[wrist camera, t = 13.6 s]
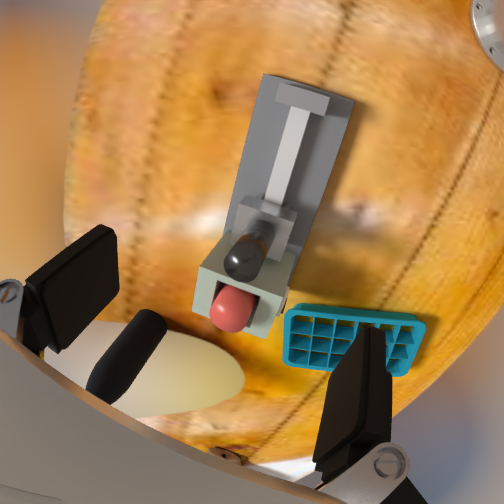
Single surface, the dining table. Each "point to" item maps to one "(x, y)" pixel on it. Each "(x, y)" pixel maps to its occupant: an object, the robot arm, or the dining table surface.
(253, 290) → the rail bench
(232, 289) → the button
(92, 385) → the wine bottle
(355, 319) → the ice cube tray
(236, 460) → the brown boot
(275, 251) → the carriage
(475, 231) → the dining table surface
